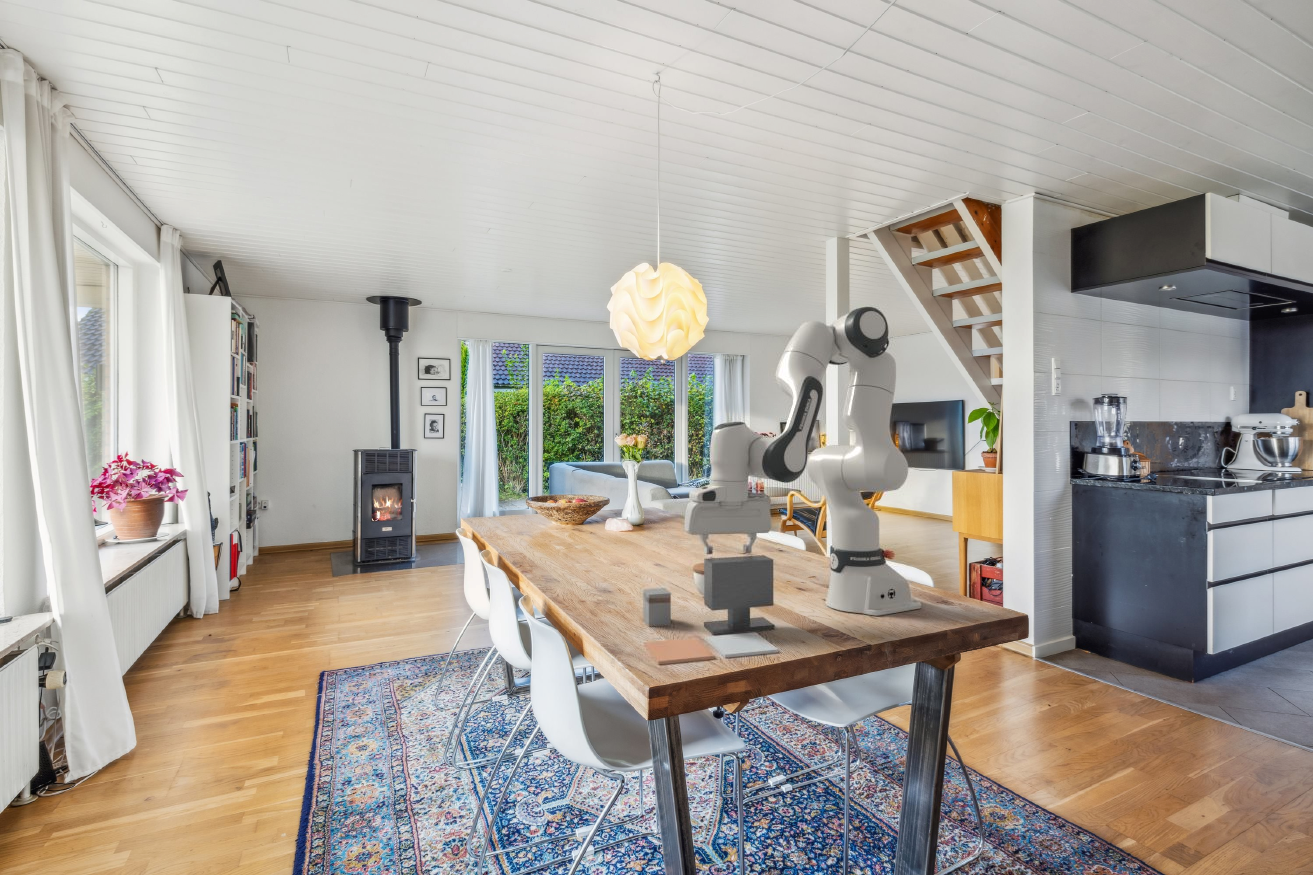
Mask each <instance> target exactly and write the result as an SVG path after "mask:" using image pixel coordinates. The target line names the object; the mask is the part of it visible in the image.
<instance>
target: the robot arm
mask: <svg viewBox="0 0 1313 875" xmlns="http://www.w3.org/2000/svg"><path fill="white" fill-rule="evenodd" d="M889 333H890V332H889V325H888V321H887V318H886V316H885V315H884V314H883V312H882V311H881V310H879V309H878V308H876V307H873V306H864V307H863V306H861V307H857V308H856V309H853V310H852V311H850V312H848V313H846V314H844V315H842V316H840V317H838V318H837V319H836V320H834V322H832V323H830V324H829V325H827V324H826V323H824V322H821V321H816V320H811V321H810V320H809V321H806V322H804V323H802V324H801V325H800V326H799V328H798V329H797V330H796V331H795V332H794V334H793V335H792V337H791V338H790V340H789V342H788V343H787V345H786V347H785V349H784V351H783V353H782V354H781V356H780V358H779V362H778V364H777V365H776V366H777V367H776V370H775V376H774V377H775V381H776V385H777V386H778V387H779V389H780V390H781V391H782V392H783V393H784V394H785V395H786V396H788V397H790V398H791V399H792V405H791V409H790V412H789V415H788V417H787V421H786V424H785V427H784V430H783V432H781V433H780V434H779V435H777V436H776V437H775V436H774V437H767V436H763V435H761V434H759V433H757V432H755V431H753V430H752V429H751V428H750V427H748V425H747V424H746V423H745V422H744V421H731V422H724V423H720V424H718V425H716V426H715V427H714V428H713V431H712V432H711V437H710V446H709V447H710V448H709V462H710V468H711V471H710V476H709V484H707V485H706V484H705V485H704V486H701V487H698V488H695V489H692V490H690V491H689V492H688V496H689V497H688V498H689V500H691V501H689V502H688V503H687V506H686V508H685V514H684V523H683V524H684V525H683V526H684V531H685V532H686V533H687V534H688V535H691V536H697V535H698V536H699V539H700V542H701V543H702V545H703V546H704V547H703V553H704V555H713V554H714V553H713V552H714V551H713V550H714V546H712V545H709V543H708V541H707V540H709V535H736V534H737V535H739V534H743V535H744V534H747V537H748V540H747V542H746V543H745V544H742V552H743V553H744V554H750V553H753V552H752V550H753V549H752V548H753V545H754V543H755V541H757V537H758V536H757V534H769V532H770V531H771V530H772V516H771V508H772V507H771V505H772V504H771V503H772V500H771V497H770V495H768V494H766V493H765V492H749V477H752V478H760V479H765V480H773V481H776V482H780V483H786V484H787V483H792V482H794V481H796V480H798V478H800V477H801V476H802V474H803V473H804V471H805V470H806V469H807V475H808V476H809V478H810V481H812V482H813V484H815V485H816V487H817V488H819V490H820V491H821V494H822V495H823V497H824V499H825V501H826V503H827V506H828V509H829V514H830V515H829V516H830V519H831V520H830V521H831V525H830V526H831V545H830V547H829V549H830V550H829V566H830V578H829V584H828V590H827V595H826V598H825V602H824V604H825V605H826V606H827V607H829V608H831V609H834V610H837V611H841V612H847V613H848V612H849V613H854V614H855V613H856V614H857V613H858V614H865V615H869V616H875V617H876V616H883V615H884V616H885V615H890V614H894V613H901V612H908V611H913V610H918V609H922V603H921V602H920V601H919V600H918V599H916V598H914V597H912V595H911V594H912V592H911V588H910V584H909V582H908V580H907V579H906V578H905V577H904V576H903V575H901V574H900V573H899V572H897V571H896V570H895V569H893V567H891V566H890V565H889V564H888V563H887V561H886V560H887V559H888V560H894V558H895V552H894V551H893V550H889V549H885V550H884V549H882V548H881V547H880V519H879V516H878V514H877V512H876V511H875V510H874V509H872V508H871V507H870V506H868V505H867V503H866V502H865V501H864V499H863V496H862V493H861V492H870V493H885V492H892V491H897V490H899V489H900V488H902V486H903V485H904V484H905V482H906V481H907V479H908V474H909V463H908V460H907V459H906V457H905V455H904V454H903V452H902V451H901V450H900V449H898V448H897V446H896V445H895V443H894V441H893V439H892V436H891V431H890V422H891V416H892V407H893V402H894V398H895V390H896V382H897V363H896V360H895V357H894V356H892V355H891V354H890V353H888V352H887V351H886V350H888V347H889V344H890V340H889ZM847 363H848V365H849V367H850V379H849V383H848V387H847V393H846V397H845V401H844V407H843V411H842V420H843V422H844V424H845V425H846V426H847V427H848V429H850V430H851V431H853V432H854V433H855V443H854V445H849V444H848V445H847V444H845V445H844V444H831V445H826V446H821V447H817V448H815V449H814V450H813V451H812V452H811V453H810V455H809V454H808V453H809V447H810V441H811V439H812V435H813V432H814V428H815V425H816V421H817V418H818V416H819V412H820V409H821V405H822V400H823V396H824V395H823V394H824V388H823V387H824V386H823V385H822V381H823V378H824V376H825V374H826V370H827V368H828V365H834V366H839V365H840V366H841V365H845V364H847ZM808 456H809V457H808Z"/></svg>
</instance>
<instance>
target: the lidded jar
mask: <svg viewBox="0 0 1313 875" xmlns="http://www.w3.org/2000/svg"><path fill="white" fill-rule="evenodd" d="M692 570H693V582H694V586H695V588H696V591H697V592H698V593H699V594H700V595H701V597H702V598H704V562H699V563H695V564H694V565H693V566H692Z"/></svg>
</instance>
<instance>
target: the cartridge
mask: <svg viewBox="0 0 1313 875" xmlns="http://www.w3.org/2000/svg"><path fill="white" fill-rule="evenodd" d="M642 590H643V592H642V593H643V594H642V595H643V596H642V597H643V606H642V607H643V618H642V619H643V620H642V621H643V622H644V623H645V624H646V625H647V626H648V627H649V628H650V627H659V626H660V627H661V626H669V625H671V624H672V623H671V622H672V621H671V619H672V618H671V617H672V616H671V615H672V614H671V612H672V608H671V604H672V600H671V596H672V595H671V594H672V593H671V592H670V591H669V590H668V589H666V587H661V588H658V587H657V588H646V589H645V588H644V589H642Z"/></svg>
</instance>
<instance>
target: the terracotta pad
mask: <svg viewBox="0 0 1313 875" xmlns="http://www.w3.org/2000/svg"><path fill="white" fill-rule="evenodd" d="M643 645H644V647H645V648H646V650H647V651H648V652H649V654H650V655H651V657H652V658H653V659H654V661H655V663H656V664H657V665H666V664H667V665H669V664H675V663H676V664H678V663H688V662H697V661H706V660H707V661H708V660H715V659H716V656H715V654H714V653H713V652H712V651H711V650H710V649H709V648H707V646H706V645H704V644H703V643H702V641H700V640H699V639H698V638H697V637H690V638H689V637H688V638H677V639H668V640H667V639H666V640H658V641H656V640H655V641H646V642H644V643H643Z"/></svg>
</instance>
